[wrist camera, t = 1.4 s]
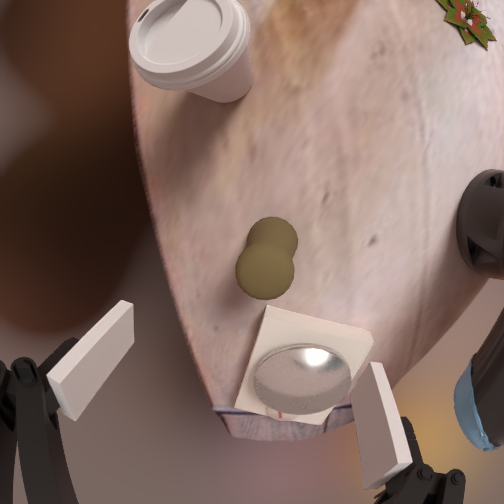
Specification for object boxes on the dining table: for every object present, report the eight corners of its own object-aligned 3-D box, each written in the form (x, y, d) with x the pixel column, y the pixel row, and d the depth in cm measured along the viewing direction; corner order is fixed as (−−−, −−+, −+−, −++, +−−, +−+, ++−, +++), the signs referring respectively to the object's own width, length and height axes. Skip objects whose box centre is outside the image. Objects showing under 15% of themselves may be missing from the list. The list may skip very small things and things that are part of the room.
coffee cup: (237, 32, 25) (201, -36, 11) (283, 86, 27) (274, 29, 13) (174, 75, 28) (103, 35, 14) (214, 130, 30) (154, 111, 16)
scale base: (369, 330, 35) (375, 347, 31) (320, 412, 42) (320, 429, 38) (266, 304, 36) (263, 321, 32) (237, 395, 43) (232, 412, 39)
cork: (281, 273, 34) (275, 321, 24) (238, 249, 34) (215, 288, 24) (307, 233, 32) (313, 267, 22) (262, 207, 32) (247, 230, 22)
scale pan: (366, 354, 31) (368, 359, 30) (327, 414, 36) (327, 420, 35) (269, 332, 32) (268, 338, 31) (245, 398, 37) (243, 403, 35)
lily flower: (417, -10, 18) (428, -24, 14) (464, -11, 15) (476, -21, 11) (463, 56, 21) (479, 48, 17) (504, 50, 18) (519, 44, 14)
